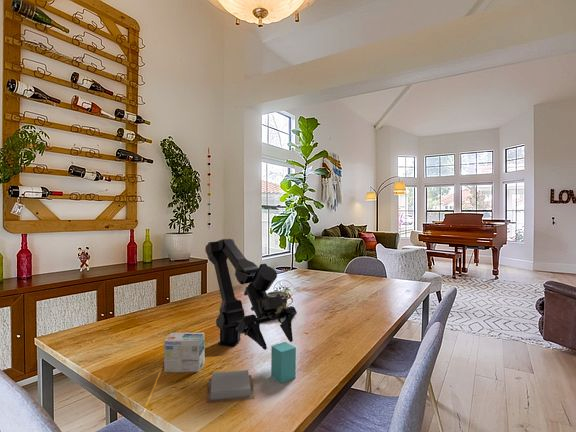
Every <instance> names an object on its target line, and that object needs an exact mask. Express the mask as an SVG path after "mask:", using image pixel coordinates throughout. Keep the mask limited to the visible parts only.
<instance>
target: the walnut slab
mask: <svg viewBox="0 0 576 432" xmlns="http://www.w3.org/2000/svg"><path fill="white" fill-rule="evenodd" d="M207 381H208V382H207V391H206V402H205V403H206V404H211V403H212V404H213V403H222V402H225V403H226V402H232V401H233V402H234V401H245V400H253V399H254V400H255V399H256V398H255V391H254V384H253V378H252V374H249V381H250V388H251V396H247V397H236V398H226V399H215V400H211V382H212V377H211V378H208V380H207Z"/></svg>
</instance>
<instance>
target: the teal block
mask: <svg viewBox="0 0 576 432" xmlns="http://www.w3.org/2000/svg"><path fill="white" fill-rule="evenodd" d="M270 350H271V352H270V353H271V356H270V357H271V359H270V361H271V362H270V365H271V367H270V371H271V372H270V373H271V374H270V376H271V377H272V378H273V379H275V380H276V381H278V383H280V384H284V383H287V382H290V381H291V380H295V379H296V377H297V374H296V373H297V371H296V369H297V366H296V363H297V361H296V360H297V348H296V347H295V346H294V345H292V344H290V343H288V342H287V341H284V342H280V343H276V344H274V345H271V349H270Z"/></svg>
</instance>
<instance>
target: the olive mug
mask: <svg viewBox="0 0 576 432" xmlns="http://www.w3.org/2000/svg"><path fill="white" fill-rule="evenodd" d="M266 293H267V295H268V296H271V297H275V296H276V295H277V294H279V293H284V295H285V296H286V299H287V302H286V303H284V304H283V305H284V306H280V307H278V311H276V312H275V313H276V314H277V313H280V312H281V310H282V309H283V308H286V307H290V305H291V304H292V303H294V300H293V297H291V296H289V293H288V292H286V291H279V290H274V291H268V292H266ZM289 299H291V302H290V303H288V300H289ZM287 303H288V304H287Z"/></svg>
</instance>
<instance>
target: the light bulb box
mask: <svg viewBox="0 0 576 432" xmlns="http://www.w3.org/2000/svg"><path fill="white" fill-rule="evenodd" d="M163 345H164V346H163V348H164V349H163V361H164V363H163V367H164V368H163V371H164V372H165V373H200V372H201V370H202V368H203V366H204V365H205V332H204V331H203V332H170V333H169V334H168V335H167V337H166V338H165V339H164V341H163Z"/></svg>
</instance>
